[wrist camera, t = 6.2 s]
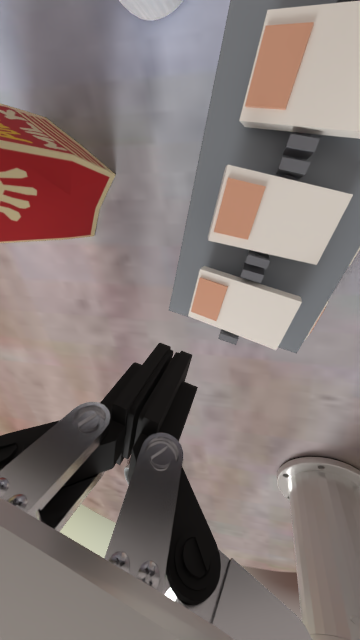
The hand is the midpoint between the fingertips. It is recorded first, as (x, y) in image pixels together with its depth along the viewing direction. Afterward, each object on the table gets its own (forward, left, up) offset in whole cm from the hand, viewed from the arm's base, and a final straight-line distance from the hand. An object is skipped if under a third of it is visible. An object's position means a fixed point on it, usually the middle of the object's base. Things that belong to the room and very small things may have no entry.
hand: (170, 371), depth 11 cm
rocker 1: (-3, -14, -10) cm, 18 cm away
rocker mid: (-3, -7, -10) cm, 12 cm away
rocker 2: (-3, 0, -10) cm, 10 cm away
